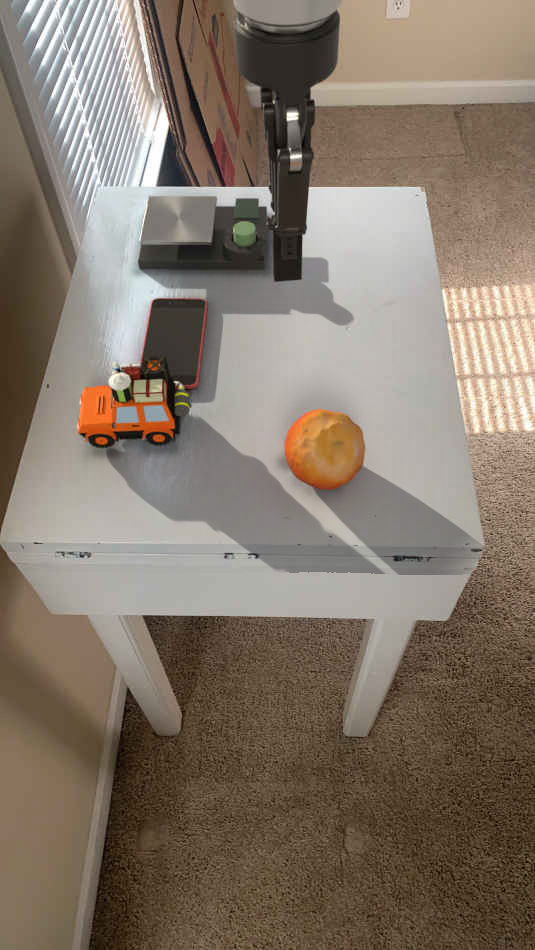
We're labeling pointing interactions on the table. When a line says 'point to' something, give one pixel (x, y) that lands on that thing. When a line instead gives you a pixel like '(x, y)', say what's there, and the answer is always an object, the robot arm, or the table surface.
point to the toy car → (134, 405)
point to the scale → (212, 248)
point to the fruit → (324, 449)
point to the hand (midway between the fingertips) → (287, 275)
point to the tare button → (244, 233)
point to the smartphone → (177, 336)
